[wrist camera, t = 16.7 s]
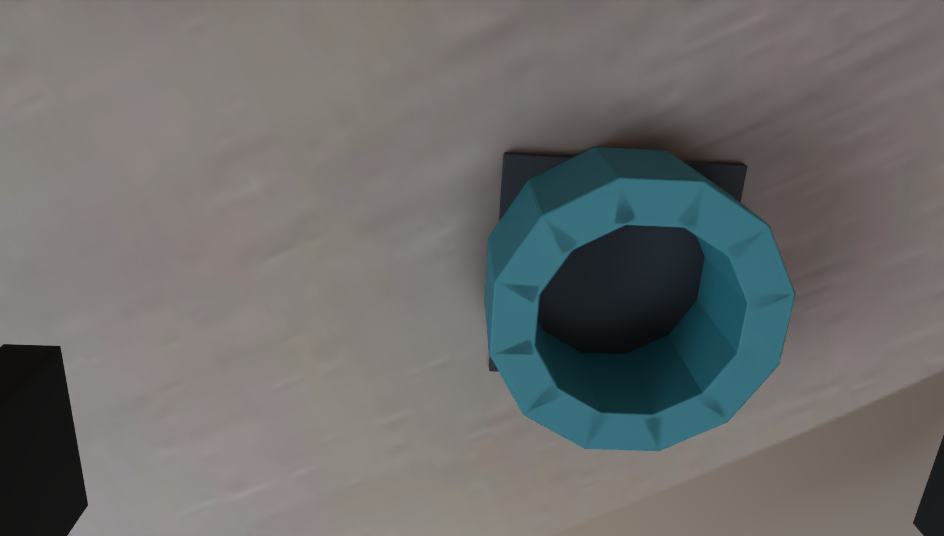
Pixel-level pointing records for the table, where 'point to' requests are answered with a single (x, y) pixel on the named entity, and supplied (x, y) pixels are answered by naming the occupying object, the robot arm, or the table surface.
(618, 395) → the tape roll
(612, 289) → the mat
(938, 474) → the robot arm
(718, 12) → the table surface
